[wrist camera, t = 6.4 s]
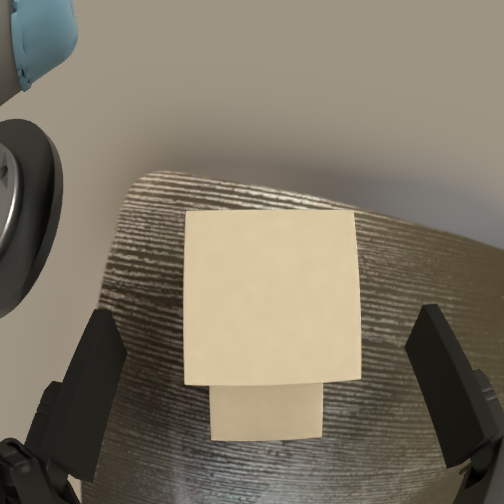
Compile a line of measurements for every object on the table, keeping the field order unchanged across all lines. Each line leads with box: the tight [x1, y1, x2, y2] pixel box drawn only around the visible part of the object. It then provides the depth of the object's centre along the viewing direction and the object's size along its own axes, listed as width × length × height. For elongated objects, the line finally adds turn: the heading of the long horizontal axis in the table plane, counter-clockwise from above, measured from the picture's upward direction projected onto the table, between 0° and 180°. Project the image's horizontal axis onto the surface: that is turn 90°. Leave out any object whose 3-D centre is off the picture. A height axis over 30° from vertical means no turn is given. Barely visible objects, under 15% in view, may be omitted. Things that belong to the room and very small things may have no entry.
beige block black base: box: [183, 210, 361, 441], centre depth 15 cm, size 11×6×10 cm, turn 1°
